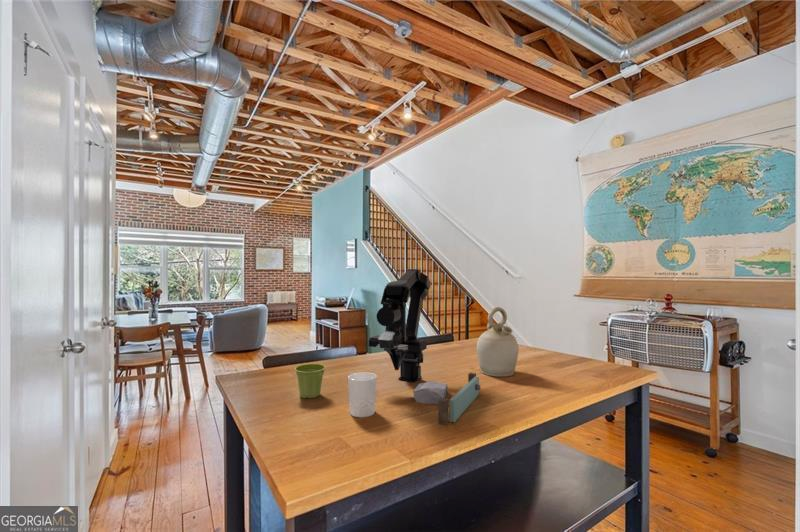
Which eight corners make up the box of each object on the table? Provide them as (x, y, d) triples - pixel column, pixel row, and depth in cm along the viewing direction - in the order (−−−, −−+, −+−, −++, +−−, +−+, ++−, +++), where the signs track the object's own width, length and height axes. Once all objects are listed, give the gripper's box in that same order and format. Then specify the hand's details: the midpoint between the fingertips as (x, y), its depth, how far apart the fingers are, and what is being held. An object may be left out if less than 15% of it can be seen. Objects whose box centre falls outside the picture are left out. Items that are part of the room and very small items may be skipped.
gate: (449, 421, 93) (449, 399, 93) (475, 393, 114) (475, 376, 114) (458, 423, 92) (458, 401, 92) (482, 395, 113) (482, 377, 113)
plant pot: (331, 395, 113) (331, 367, 113) (305, 403, 106) (305, 373, 106) (314, 388, 119) (314, 362, 120) (288, 395, 113) (288, 367, 113)
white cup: (365, 421, 94) (365, 382, 94) (341, 414, 98) (341, 377, 98) (382, 411, 100) (382, 374, 100) (360, 405, 105) (360, 370, 105)
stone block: (413, 409, 107) (446, 405, 105) (410, 392, 107) (443, 388, 105) (419, 397, 118) (449, 393, 116) (416, 382, 119) (446, 378, 117)
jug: (524, 378, 131) (524, 309, 131) (481, 378, 131) (481, 309, 131) (511, 367, 146) (511, 305, 146) (473, 367, 146) (473, 305, 147)
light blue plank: (438, 423, 92) (438, 400, 92) (470, 391, 117) (470, 372, 117) (445, 425, 91) (445, 401, 91) (476, 392, 116) (476, 373, 116)
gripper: (358, 322, 114) (358, 372, 114) (412, 327, 106) (412, 381, 106) (377, 318, 124) (377, 364, 124) (427, 322, 116) (427, 371, 115)
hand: (396, 370), depth 117 cm, fingers closed
